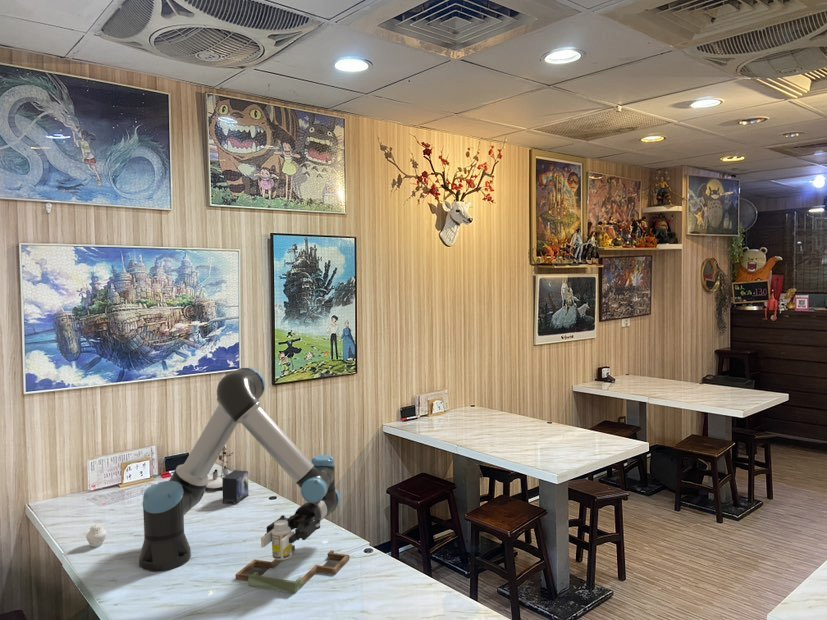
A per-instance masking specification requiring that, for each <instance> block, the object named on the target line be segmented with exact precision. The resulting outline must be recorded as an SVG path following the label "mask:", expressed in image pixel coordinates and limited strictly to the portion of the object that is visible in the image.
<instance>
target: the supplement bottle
mask: <svg viewBox="0 0 827 620" xmlns="http://www.w3.org/2000/svg"><path fill="white" fill-rule="evenodd" d="M277 520H278V519H277ZM275 521H276V520H275ZM275 521H273V522H274V529H273V530H272V542H271V547H272V549H271V550H272V558H273V560H275V559H276V560H282V561H285V560H288V559H291V557H292V555H293V552H292V545H293V543H291V544H290V545H289V546H287V547H286V548H285V549H284V550H281V542H280V540H281V539H283V538H284V537H285V536H287V535H288V534H289V533H290V532H292V530H291V528H290V527H288V521H287V520H278V521H276V522H275Z"/></svg>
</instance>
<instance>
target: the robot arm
mask: <svg viewBox="0 0 827 620" xmlns="http://www.w3.org/2000/svg"><path fill="white" fill-rule="evenodd" d="M216 388H217V389H216V395H217V396H216V397H217V398H216V402H217V406H216V408H215V410H214V412H213V414H211V417H210V419H209V421H208V422H207V424H206V425H205V427H204V429H203V431H202V432H201V434H200V436H199V438H198V439H197V441H196V443H195V444H194V446H193V448H192V449H191V451H190V453H189V455H188V456H187V459H186V460H185V462H184V463H183V464H182V463H181V464H178V465H177V466H176V468H175V469H174V472H173V473H172V475H171V477H170V478H169V480H165V481H160V482H157V483H154V484H152V485H150V486H148V487H147V488H146V489H145V491H144V493H143V494H142V495H143V497H142V498H143V499H142V510H143V511H142V512H143V535H144V540H143V542H142V547H141V550H140V552H139V557H138V565H139V567H140V568H141V569H142V570H145V571H149V572H150V571H151V572H160V571H166V570H171V569H175V568H177V567H180V566H183V565H184V564H185V563H187V562H189V560H190V559H191V557H192V553H191V552H192V550H191V549H192V548H191V546H190V544H189V541H188V538H187V537H186V534H185V518H184V517H185V515H186V514H188V513H189V511H191V509H192V508H193V507H195V506H197V504H199V503H200V501H202V498H203V496H204V494H205V491H206V488H207V487H206V486H207V484H208V482H209V479H208V474H209V473H210V471H211V470H212V468H213V467H214V465H215V463H216V461H217V459H219V455H221V453H222V452H223V451H222V449H223V448H224V446H225V447H226V444H227V442H228V441H229V439H230V437H231V436H232V435H233V432H234V430H235V428H236V427H237V426H238V424H241V425H242V426H243V427H244V428H245V429H246V430H247V431H248V433H249V434H251V436H252V437H253V438H254V439H255V440H256V441H257V442H258V443H259V444H260V445H261V447H263V449H264V450H265V451H266V452H267V453H268V454H269V456H271V457H272V458H273V460H274V461H275V462H276V464H278V466H280V467H281V468H282V469H283V471H284V472H285V473H286V474H287V475H288V476H289V477H290V478H291V480H292V481H294V482H295V484H296V485H297V486H298V487H299V488H300V493H301V497H302V498H303V499H304V501H305V502H304V503H303V504H302V505H301V506H299V507H298V508H297V509H296V510H295V512H294V513H293V514H292V515H290V516H289V517H286V516H285V514H284V515H280V517H279V518H278V519H276V520H274V521H273V522H271V523H270V524H269V525H267V526H266V533H264V535H263V536H262V537H260V546H261V548H265V547H266V546H268V545H269V544H271V543H272V530H273V529H274V522H276V521H278V520H287V521H288V527H290V528H291V532H290V533H289V534H288V535H287V536H285V537H284V538H283V539H281V540H280V542H281V550H284V549H285V548H286V547H287V546H289V545H290V544H291V543H292V544H293V543H296V541H299V540H300V539H301V540H302V541H306V540H307V539H308V538H309V537H310V536H311V535H312V534H313V533H315V532H316V531H317V530H319V529H321V522H322V520H324V519H325V518H326V517H328V516H329V515H331V514H332V513H334V511H335V510H336V509H337V508H338V507H339V505H340V503H341V499H342V498H341V494H340V492H339V490H337V489H336V474H335V473H336V465H335V458H334V457H333V456H332V455H330V454H329V455H327V454H319V455H316V456H314V457H312V459H311V460H310V459H309V458H308V457H307V456H306V455H305V454H304V452H302V451H301V449H300V448H299V447H298V446H297V445H296V443H294V442H293V440H291V438H290V437H289V436H288V435H287V434H286V433H285V431H283V430H282V428H280V426H279V425H278V424H277V423H276V422H275V421H274V420H273V418H272V417H271V416H269V414H268V413H267V412H266V411H265V410H264V409H263V408H262V407H261V401H260V398H261V397H262V396H263V394H264V392H265V390H266V381H265V378H264V376H263V374H262V373H261V372H260V371H259V370H257V369H255V368H252V367H241V368H238V369H236V370H234V372H233V371H232V372H230V373H228V374H226V375H225V376H223V377H222V378H221V379H220V380H219V383H218V384H217V387H216ZM293 530H294V531H293Z"/></svg>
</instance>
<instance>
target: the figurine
mask: <svg viewBox="0 0 827 620" xmlns="http://www.w3.org/2000/svg"><path fill="white" fill-rule="evenodd" d="M221 453H222V454H220V455H219V456H218V460H219V461H221V462H222V463H221V472H222V473H221V475H220V474H218V472H219V471H218V470H219V469H214V471H213V472H212V474H210V475H211V476H209V477H208V479H209V482H208V484H207V486H206V488H208V489H217V488H222V478H223V477H224V476H226V475H228V474H229V471H230V469H229V468H228V467H227V466H226V465H224V463H225V464H227V463H228V460H226V461H225V457H226V458H227V457H231V456H232V455H233V454H234V452H231V453H228V455H227V447H226V445H225V446H224V448H223V449H222V451H221Z"/></svg>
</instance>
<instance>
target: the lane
mask: <svg viewBox="0 0 827 620" xmlns="http://www.w3.org/2000/svg"><path fill="white" fill-rule="evenodd" d="M295 550H296V546H295V545H294V544H292V553H293V552H294V551H295ZM327 559H328V560H327V561H326V562H324V564H323V565H318V564H315V565H314V566H313V567H312V568H311V569H310V570H308V572H307V573H306V574H305V575H304V576H302V577H301V576H299V577H298V578H296V580H289V579H284V578H276V577H268V576H263V575H264V574H265V573H266V572H267V571H268V570H270V569H274V568H276V566H278V565H279V564H280V563H281V562H283V560H276V559H273V560H272V561H266V560H260V559H253V560H252V561H250V562H249V563H248V564H247V565H245V567H243V568H242V569H240V570H239V571H238V572H236V573H235V580H239V581H246V582H248V587H252V588H259V589H264V590H271V591H277V592H283V593H288V594H297V592H299V591H300V590H301V588H302V587H304V586H305V585H306V583H308V581H310V580H311V579H312V578H313V577H314V576H315V574H317V573H323V574H329V575H336V574H337V573H338V572H339V571H340V570H341V569H342V568H343V567H344V566H345V565H346V564H348V562H349V561H350V554H345V553H336V552H335V551H334V550H332V549H331V550H330V551H329V552H328V553H327Z"/></svg>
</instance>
